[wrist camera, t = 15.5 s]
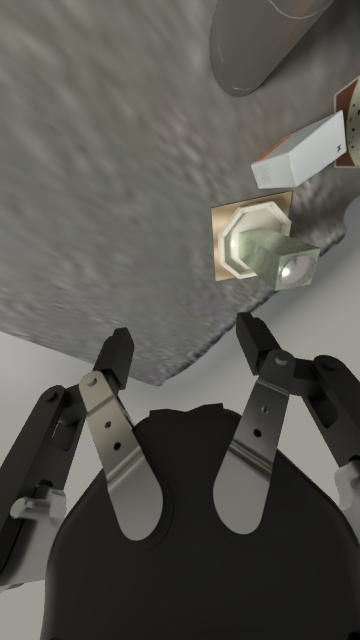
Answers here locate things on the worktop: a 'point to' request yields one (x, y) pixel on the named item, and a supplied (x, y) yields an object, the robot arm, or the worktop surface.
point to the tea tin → (278, 258)
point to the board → (226, 211)
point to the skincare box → (301, 154)
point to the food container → (349, 123)
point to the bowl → (244, 221)
